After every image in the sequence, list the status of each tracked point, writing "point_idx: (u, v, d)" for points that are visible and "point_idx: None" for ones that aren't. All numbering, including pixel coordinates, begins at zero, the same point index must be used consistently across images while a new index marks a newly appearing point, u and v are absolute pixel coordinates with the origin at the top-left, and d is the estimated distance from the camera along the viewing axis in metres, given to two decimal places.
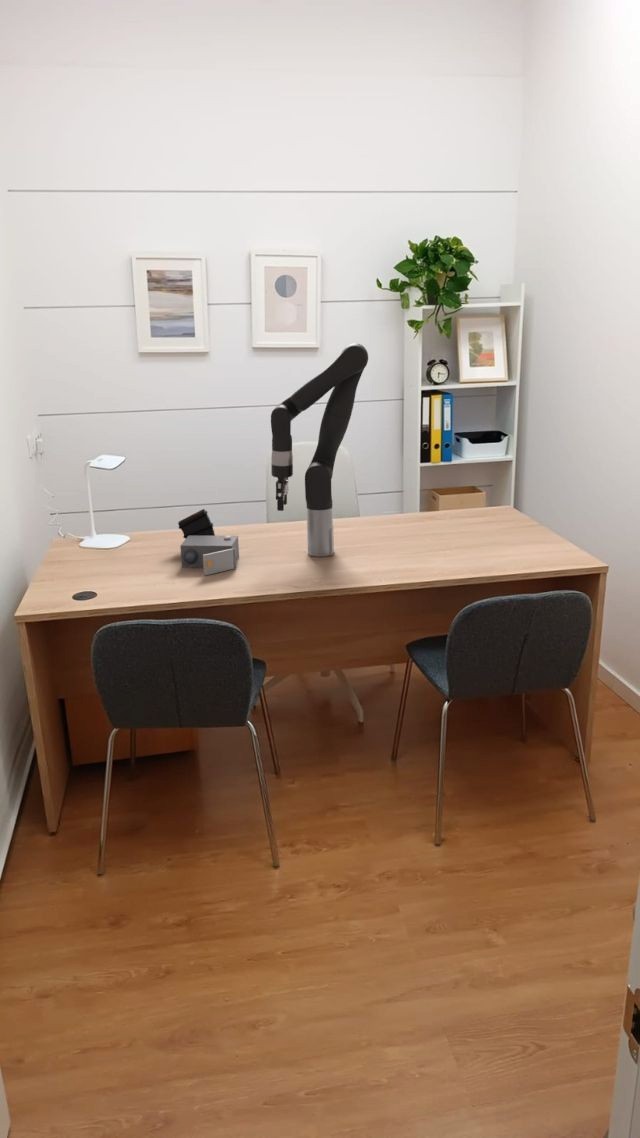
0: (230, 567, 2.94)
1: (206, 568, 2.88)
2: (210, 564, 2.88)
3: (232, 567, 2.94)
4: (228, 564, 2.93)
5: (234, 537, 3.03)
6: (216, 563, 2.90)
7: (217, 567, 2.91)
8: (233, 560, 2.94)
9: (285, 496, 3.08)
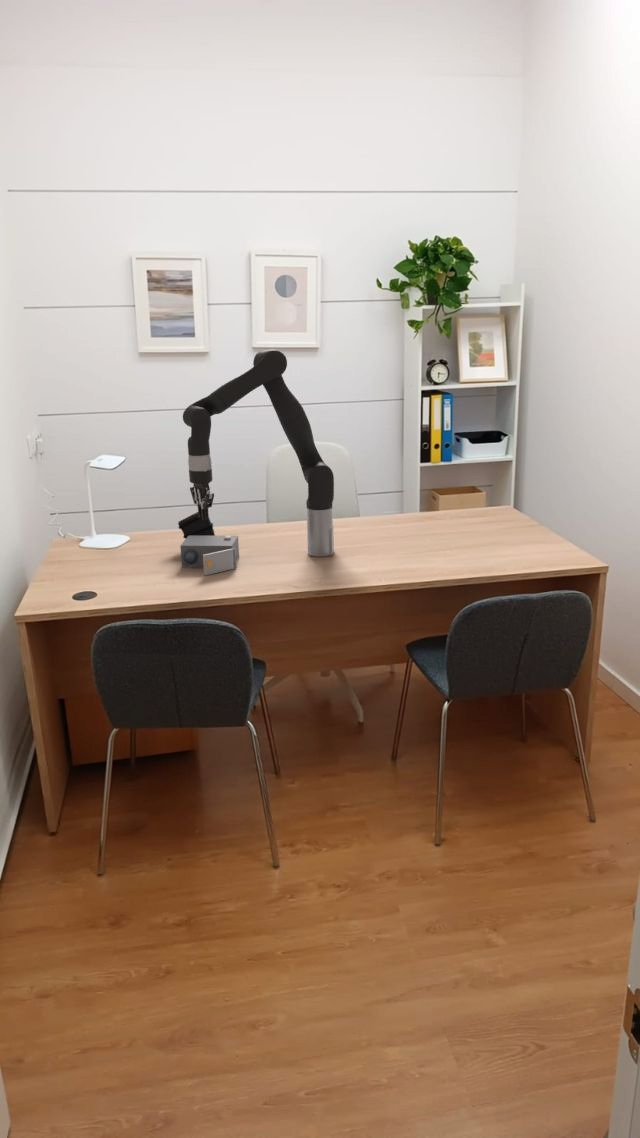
0: (230, 567, 2.94)
1: (206, 568, 2.88)
2: (210, 564, 2.88)
3: (232, 567, 2.94)
4: (228, 564, 2.93)
5: (234, 537, 3.03)
6: (216, 563, 2.90)
7: (217, 567, 2.91)
8: (233, 560, 2.94)
9: None
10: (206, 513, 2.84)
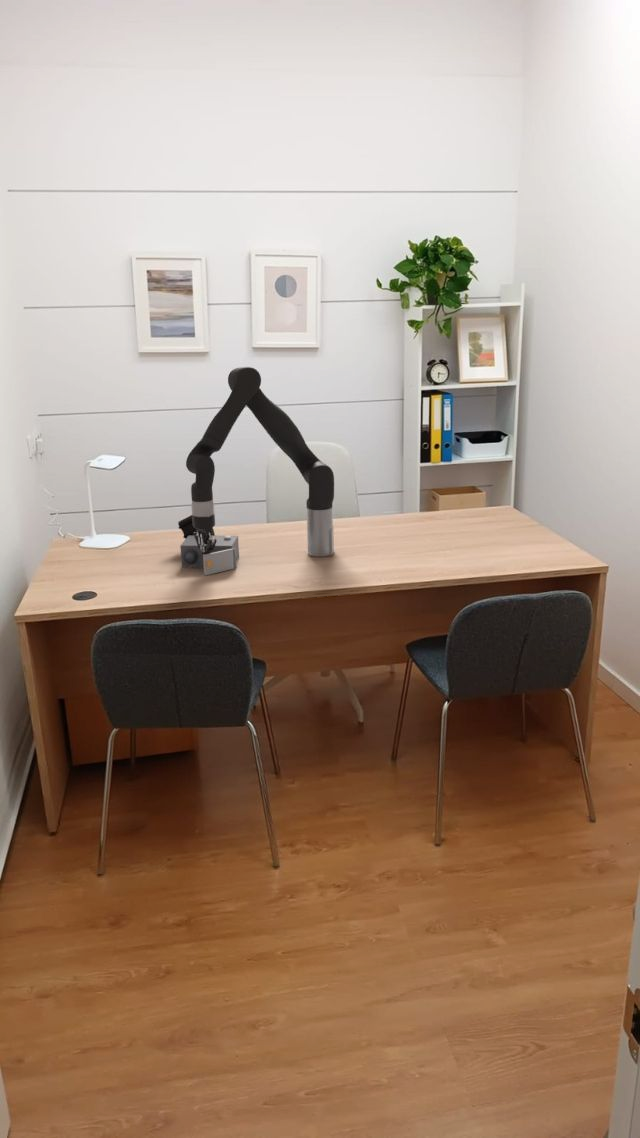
0: (230, 567, 2.94)
1: (206, 568, 2.88)
2: (210, 564, 2.88)
3: (232, 567, 2.94)
4: (228, 564, 2.93)
5: (234, 537, 3.03)
6: (216, 563, 2.90)
7: (217, 567, 2.91)
8: (233, 560, 2.94)
9: None
10: None
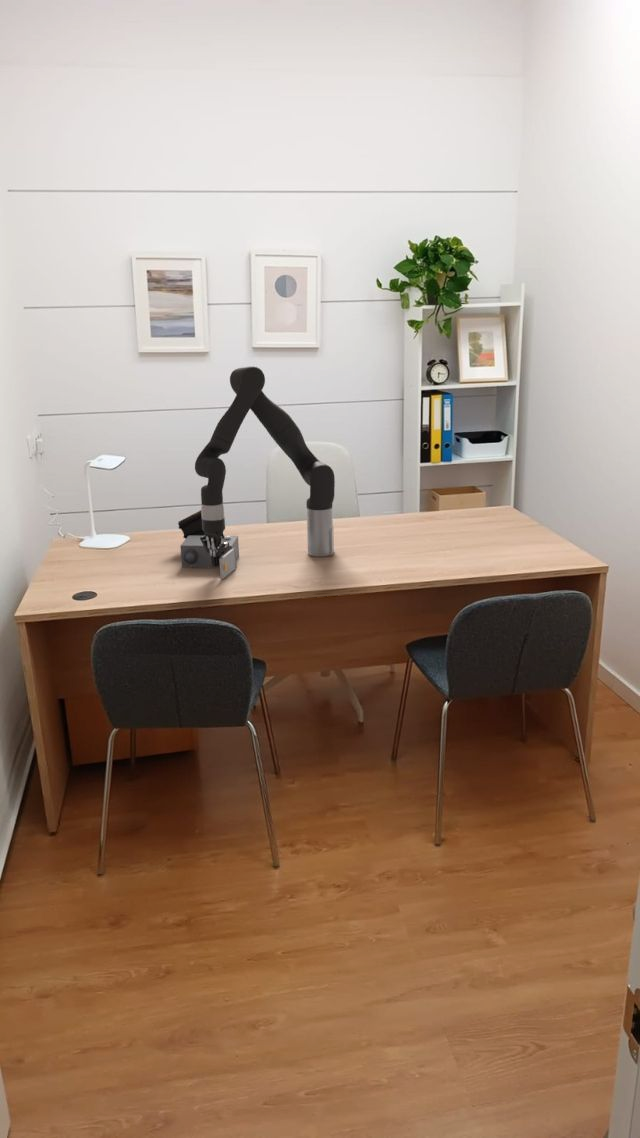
0: (233, 567, 2.93)
1: (223, 572, 2.84)
2: (226, 567, 2.85)
3: (234, 567, 2.94)
4: (233, 564, 2.92)
5: (234, 537, 3.03)
6: (227, 565, 2.88)
7: (228, 569, 2.88)
8: (234, 560, 2.94)
9: None
10: (218, 560, 2.86)
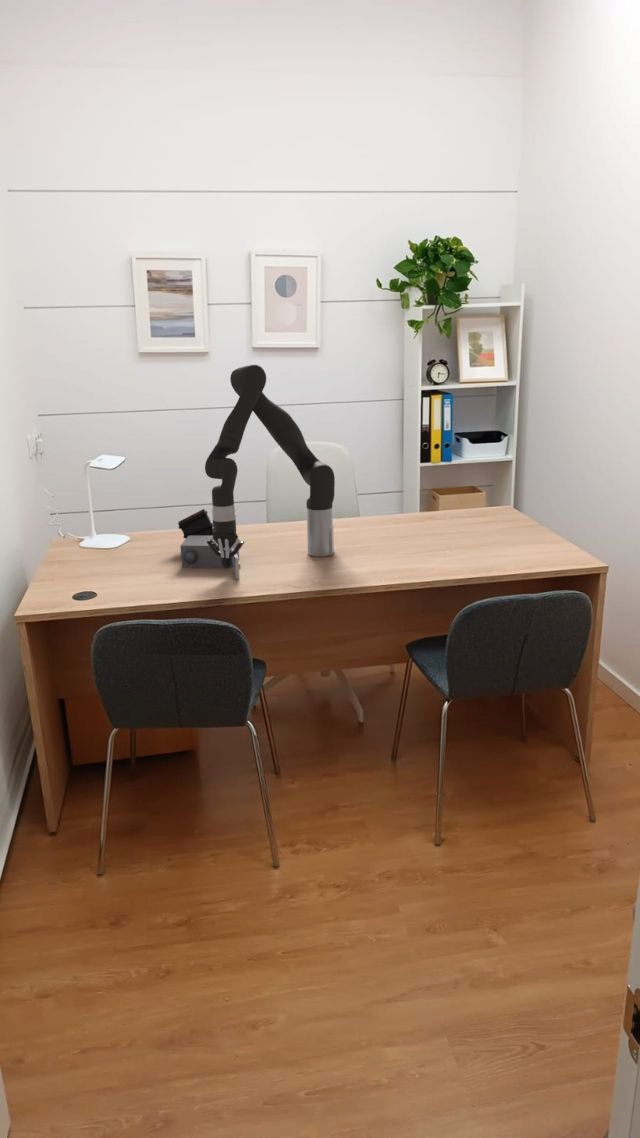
0: None
1: (238, 571, 2.84)
2: None
3: None
4: None
5: None
6: None
7: None
8: None
9: None
10: (230, 561, 2.85)
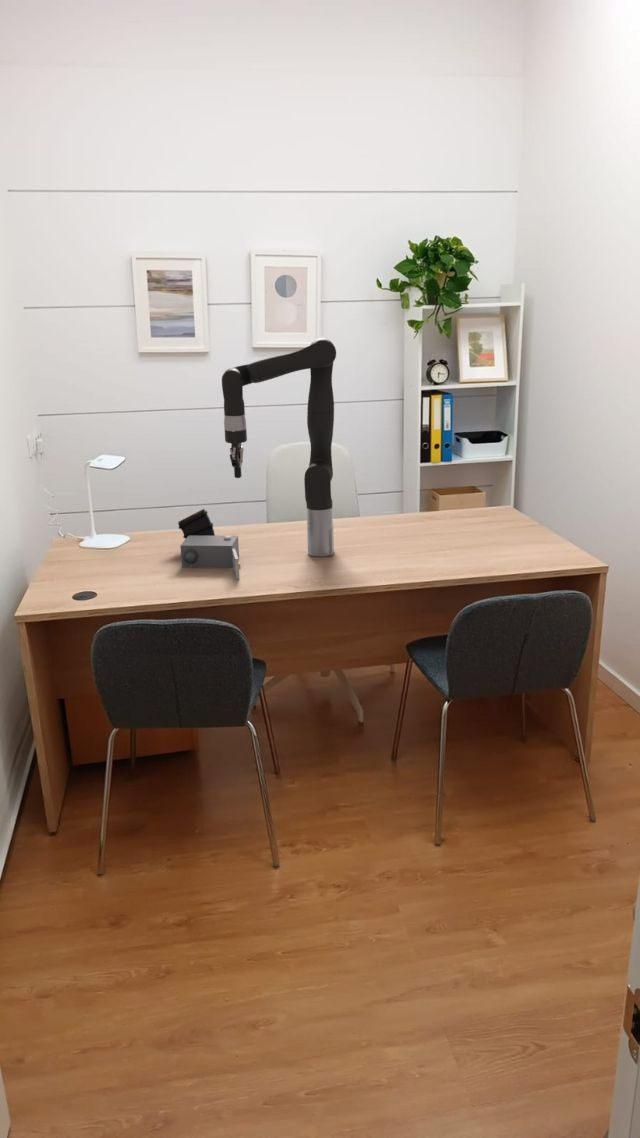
0: None
1: (238, 571, 2.84)
2: None
3: None
4: None
5: (234, 537, 3.03)
6: None
7: None
8: None
9: None
10: (237, 472, 2.97)
